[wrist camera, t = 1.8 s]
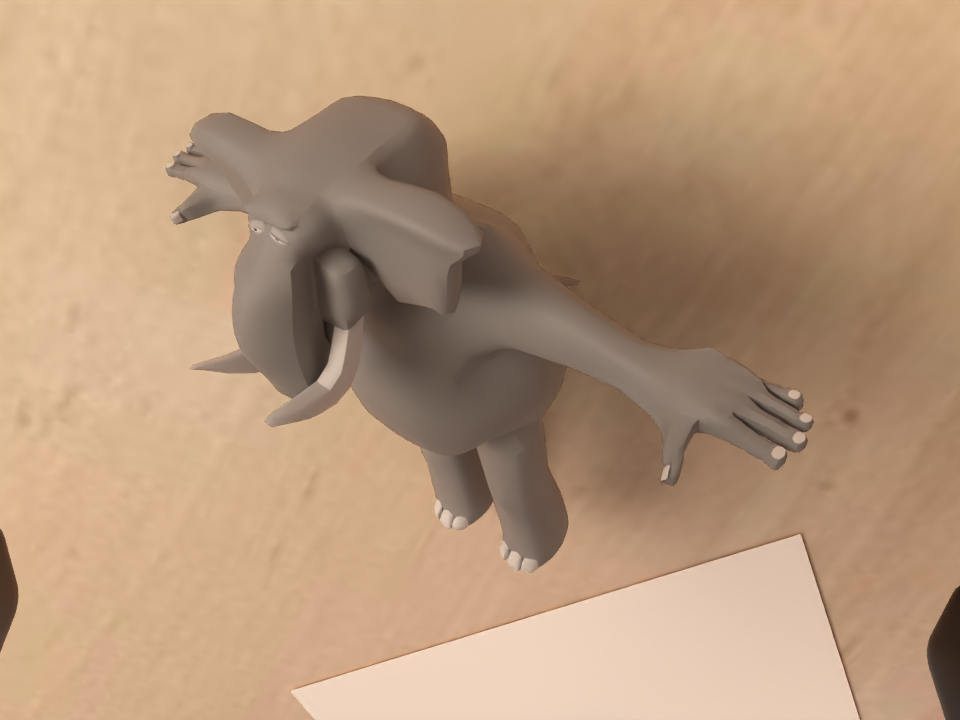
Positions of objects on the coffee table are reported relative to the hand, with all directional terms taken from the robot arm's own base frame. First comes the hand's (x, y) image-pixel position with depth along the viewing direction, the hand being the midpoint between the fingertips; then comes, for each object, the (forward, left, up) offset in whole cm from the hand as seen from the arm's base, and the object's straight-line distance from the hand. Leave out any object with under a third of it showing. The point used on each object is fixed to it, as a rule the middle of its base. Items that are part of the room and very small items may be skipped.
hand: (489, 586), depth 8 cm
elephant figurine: (0, 0, -7) cm, 7 cm away
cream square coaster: (+5, -13, -7) cm, 16 cm away
